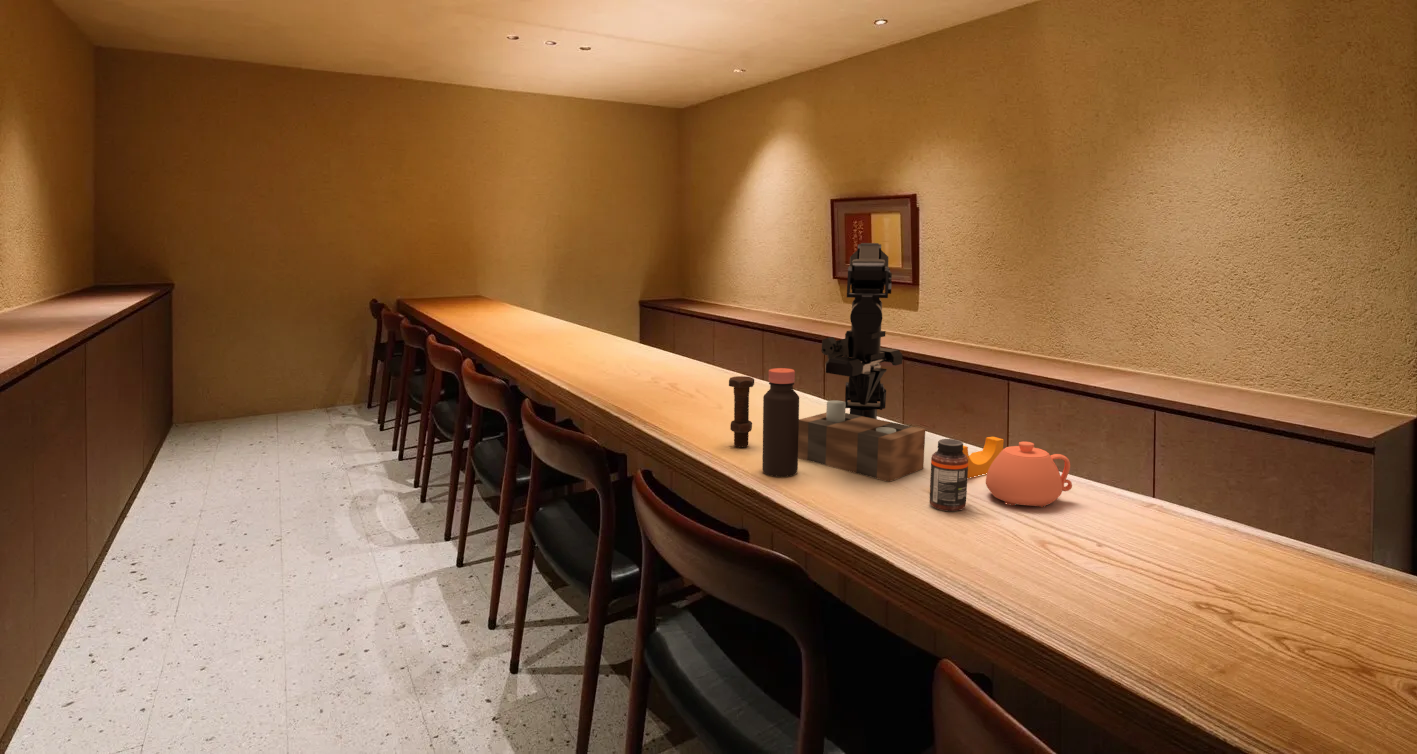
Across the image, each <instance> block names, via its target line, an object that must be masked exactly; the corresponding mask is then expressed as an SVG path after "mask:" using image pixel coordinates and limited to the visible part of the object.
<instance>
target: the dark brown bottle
mask: <svg viewBox="0 0 1417 754" xmlns="http://www.w3.org/2000/svg"><path fill="white" fill-rule="evenodd" d="M795 375H796V371H795V370H794V369H793V368H784V367H777V368H769V369H768V384H769V385H770V387H769V389H768V390H767V392H766V393H765V394H764V395H763V400H762V401H763V404H762V405H763V406H762V415H763V416H762V467H761V468H762V472H763V473H764V474H765V475H767V476H769V477H770V476H771V477H776V478H787V477H791V476H794V475H797V473H798V470H799V466H798V465H799V458H798V435H799V419H800V396H799V395H798V393H797V392H796V391H795V390H794V389H793V388H794V385H795V383H796V381H795V379H796V378H795V377H796V376H795Z"/></svg>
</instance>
